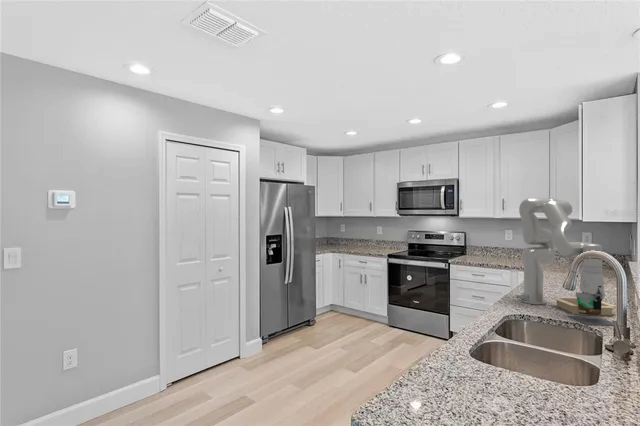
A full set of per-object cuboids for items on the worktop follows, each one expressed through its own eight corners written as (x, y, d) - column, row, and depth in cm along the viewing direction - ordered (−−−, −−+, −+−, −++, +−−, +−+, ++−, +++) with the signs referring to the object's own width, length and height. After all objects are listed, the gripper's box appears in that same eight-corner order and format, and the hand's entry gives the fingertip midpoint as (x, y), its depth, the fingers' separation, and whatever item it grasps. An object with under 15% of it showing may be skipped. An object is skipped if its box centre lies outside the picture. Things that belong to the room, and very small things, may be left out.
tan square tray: (574, 315, 176) (574, 306, 176) (549, 304, 198) (549, 296, 198) (621, 316, 174) (621, 307, 174) (590, 305, 196) (590, 297, 196)
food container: (587, 316, 163) (585, 294, 164) (576, 313, 169) (575, 292, 170) (611, 315, 164) (610, 293, 165) (599, 312, 171) (598, 291, 171)
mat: (586, 325, 161) (586, 324, 161) (567, 316, 175) (567, 315, 175) (619, 325, 160) (619, 325, 160) (597, 316, 174) (597, 316, 174)
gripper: (572, 267, 177) (572, 303, 177) (596, 272, 160) (596, 312, 159) (588, 267, 176) (588, 303, 176) (614, 272, 159) (614, 312, 159)
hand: (592, 307), depth 168 cm, fingers closed on food container, 5 cm apart
